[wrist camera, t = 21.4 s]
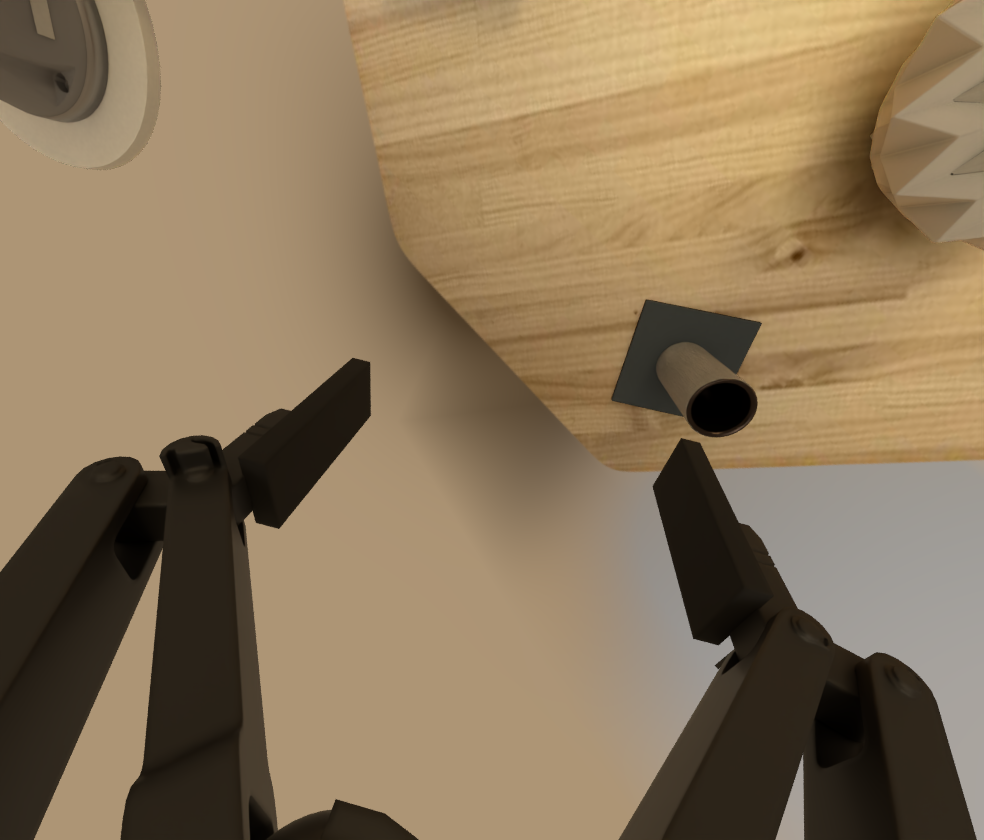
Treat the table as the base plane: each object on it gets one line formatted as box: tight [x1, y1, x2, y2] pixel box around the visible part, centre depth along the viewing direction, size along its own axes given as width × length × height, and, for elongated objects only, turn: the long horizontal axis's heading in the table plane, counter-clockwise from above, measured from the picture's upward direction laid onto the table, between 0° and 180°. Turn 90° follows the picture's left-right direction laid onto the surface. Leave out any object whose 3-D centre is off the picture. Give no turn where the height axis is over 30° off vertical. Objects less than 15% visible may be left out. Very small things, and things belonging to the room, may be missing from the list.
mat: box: [612, 300, 762, 417], centre depth 35 cm, size 10×10×1 cm
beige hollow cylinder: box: [656, 342, 757, 437], centre depth 31 cm, size 4×4×10 cm
